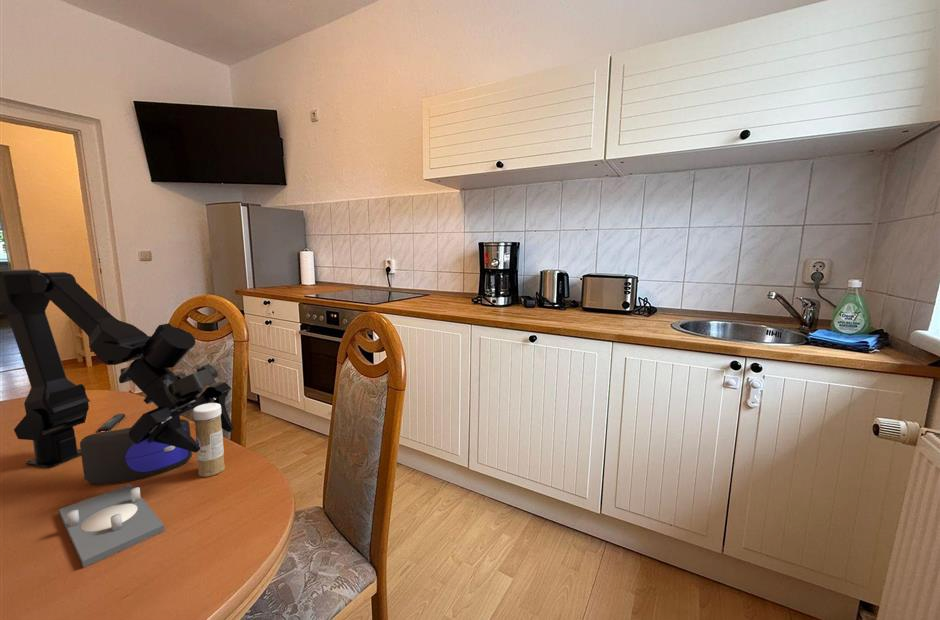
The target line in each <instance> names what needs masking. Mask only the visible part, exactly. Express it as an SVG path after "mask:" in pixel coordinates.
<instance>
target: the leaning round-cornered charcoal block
mask: <svg viewBox="0 0 940 620" xmlns="http://www.w3.org/2000/svg"><path fill="white" fill-rule="evenodd" d="M180 422H181V426H182V427H183V428H184V429H185V430H186V431H187V432H188V434H189V435H190V436H191V437H192V435H191V425H190V422H189V421H188V420H187V419H183V418H180ZM130 428H131V427H127V428H126V427H125V428H120V429H115V430H110V431H108V432H100V433H99V432H97V433H92V434H89V435H87V436H85V437H83V438H82V439H81V440H80V443H79V447H80V450H81V455H80V456H81V462H82V470H83V478H84V479H83V480H85V482H87V483H89V484H92V485H110V484H111V485H112V484H119V483H124V482H133V481H137V480H140V479H145V478H148V477H152V476H155V475H159V474H162V473H165V472H167V471H168V472H169V471H170V470H173V469H175V468H178V467H181V466H183V465H184V464H186V463H188V462H189V461H190V460H191V459H192V456H193V452H192V451H189V450H185V449H182V448H178V447H175V446H171V445H167V444H162V443H157V442H151V443H148V442H147V440H148V439H147V440H145V441H143V442H141V443H139V444H136V443H135V442H134V441H133V440H132V439H131V438H130V437H129V429H130Z"/></svg>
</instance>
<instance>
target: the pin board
mask: <svg viewBox="0 0 940 620" xmlns="http://www.w3.org/2000/svg"><path fill="white" fill-rule="evenodd" d="M58 512H59V516H60V518H61V521H62V523H63V525H64V527H65V529H66V531H67V535H68V536H69V539H70V541H71V543H72V545H73V548H74V549H75V552H76V554H77V557H78V559H79V561H80V563H81V565H82V567H83V569H84V568H86V567H89V566H91V565H93V564H96V563H98V562H100V561H102V560H104V559H106V558H108V557H111V556H113V555H115V554H117V553H120V552H122V551H124V550H126V549H128V548H131V547H133V546H134V545H135V546H136V545H137V544H139V543H141V542H144V541H145V540H148V539H150V538H152V537H155V536H157V535H158V534H161V533H163V532H166V531H165V524H164V522H162V521H161V519H160V518H159V517H158V516H157V514H156V513H155V512H154V511H153V509H152V508H151V507H150V506H149V505H148V503H146V501H145V500H144V499H143V497H142V495H141V488H140V487H133V485H132V484H131V483H129V484H126V485H124V486H121V487H118V488H115V489H113V490H110V491H107V492H104V493H101V494H98V495H96V496H93V497H90V498H87V499H84V500H82V501H78V502H75V503H73V504H70V505H68V506H67V505H66V506H65V507H62V508H59V509H58Z"/></svg>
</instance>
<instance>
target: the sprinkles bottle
mask: <svg viewBox="0 0 940 620" xmlns="http://www.w3.org/2000/svg"><path fill="white" fill-rule="evenodd" d="M221 413H222V412H221V405H220V404H218V403H207V404H202V405H199V406H197V407H195V408H194V409H193V410H192V418H193V419H194V427H195V441H196V442H197V444H198V445H199V446H200V450H199V451H198V452H196V458H197V469H198V471H197V474H198V476H200V477H203V478H204V477H206V478H207V477H212V476H215V475H217V474H220V473H221V472H223V471H224V470H225V469H226V464H225V458H224V457H225V456H224V453H225V451H224V437H223V429H222V426H221Z"/></svg>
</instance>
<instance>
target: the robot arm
mask: <svg viewBox="0 0 940 620" xmlns="http://www.w3.org/2000/svg"><path fill="white" fill-rule="evenodd" d="M50 302H52V304H54V305H55V306H56V307H57V308H58V309H59V310H60V311H61V312H63V313H64V314H65V315H66V316H67V317H68V318H69V319H70V320H71V321H72V322H73V323H74V324H76V325H77V327H79V329H81V330H82V331H83V332H84V333H85V334H86V335H87V336H88V342H89V343H88V344H89V345H88V346H89V348H90V350H91V351H92V352H93V354H94V355H96V357H97V358H98V359H99V361H100V362H101V363H103V364H104V365H107V366H117V365H121V364H124V363H128V362H130V364H129V365H128V366H127V367H123V368H120V375H119V377H118V383H119V384H124V383H127V382H130V381H131V382H132V383H133V384H134V385H135V386H137V388H138V389H139V390H140V391H141V392H142V393H143V394H144V395H145V396H146V397H145V398H144V399H143V402H144V403H145V404H146V405H149V404H151V403H153V404H154V405H155V406H156V407H157V408H154V409H151V410H149V411H148V412H145V413H142V415H140V417H139V418H138V419H137V421H136V422H134V424H133V425H132V426H131V427H129V428H130V429H129V437H130V438H131V439H132V440H133V441H134V442H135V443H136V444H139V443H141V442H143V441H145V440H147V439H148V440H147V442H148V443H151V442H157V443H162V444H167V445H171V446H175V447H178V448H182V449H185V450H189V451H192V453H195V454H197V452H198V451H199V450H200V446H199V445H198V444H197V442H196V439H194V438H193V437H192V435H191V434H190V435H191V436H190V435H189V434H188V432H187V431H186V430H185V429H184V428H183V427H182V426H181V422H180V419H181V418H180V417H181V416H184V415H185V414H187V413H190V412H193V409H194V408H195V407H197V406H199V405H202V404H207V403H218V404H220V405H221V412H222V413H221V426H222V430H224V431H226V432H228V433H230V432H232V431H234V426H233V424H232V421H231V419H230V415H229V414H228V410H227V408H226V398H227V397H229V393H230V392H231V391H232V390H233V388H232V387H231V386H230V385H229V384H228V383H227V381H218V382H217V381H216V378H218V375H219V374H218V371H217V369H216V368H215V367H214V366H213V365H211V363H208V364H205V365H204V364H203V365H202V366H200V367H197V368H196V372H193V373H191V374H189V375H186V374H185V373H180V374H176V373H175V372H174V371H173V370H172V368H174V367H177V366H178V364H180V363H181V361H182V360H183V359H184V358H185V357H186V355H187V354H188V353H189V352H190V351H192V349H193V348H194V346H195V345H196V339H195V337H194V335H193V334H192V333H191V332H189V331H187V330H184V329H182V328H179V327H175V326H172V325H171V323H169V322H168V323H163V324H162V323H161V324H158V326H157V327H156V328H155V330H154V332H153V334H152V335H147V333H145V331H142V330H141V329H139V328H138V327H136V326H135V325H134V324H131V323H128V322H125V321H121V320H119V319H117V318H116V317H114V316H113V314H111V313H110V312H109V311H108V310H107V309H106V308H105V307H103V305H101V304H100V303H99V302H98V301H97V299H95V298H94V297H93V296H92V295H91V294H90V293H88V292H87V291H86V290H85V289H84V288H83V287H82V286H81V285H80V284H79V283H78V282H77V280H76V277H74V275H73V274H72V273H68V272H64V271H55V272H54V271H53V272H47V271H46V272H42V271H40V270H39V269H38V270H37V269H33V268H32V269H0V312H1V313H2V314H3V315H5V316H6V317H7V319H8V321H9V324H10V328H11V330H12V333H13V337H14V339H15V341H16V345H17V348H18V352H19V354H20V357H21V359H22V363H23V366H24V369H25V372H26V374H27V378H28V382H29V383H30V386H31V387H30V390H29V392H28V393H27V396H26V399H25V401H24V409H25V414H24V415H25V416H24V417H22V419H21V420H20V421H19V423H18V424H17V425H16V426H15V428H14V429H13V431H14V434H15V436H16V438H17V439H18V440H27V441H32V444H33V453H34V458H33V459H29V460H27V461H25V465H27V466H34V467H39V468H45V469H49V468H53V467H56V466H57V465H61V464H63V463H65V462H67V461H70V460H71V459H74V458H77V457H80V456H81V448H80V449H79V448H78V446H77V445H78V444H77V438H76V434H75V428H74V427H77V426H79V425H82V424H85V423H86V419H87V415H88V411H89V408H90V406H89V402H91V401H90V399H89V398H88V395H87V393H86V387H85V386H84V384H82V383H79V384H76V383H74V382H72V381H71V380H69V379H68V377H67V375H66V372H65V369H64V365H63V362H62V359H61V357H60V353H59V350H58V347H57V344H56V341H55V338H54V334H53V332H52V329H51V326H50V322H49V320H48V316H47V313H46V310H47V307H48V306H49V303H50ZM131 361H132V362H131ZM216 382H217V383H216ZM208 385H209V386H208ZM206 386H207V387H206ZM205 387H206V388H205ZM203 388H205V390H204V389H203ZM198 395H199V396H198Z"/></svg>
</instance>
